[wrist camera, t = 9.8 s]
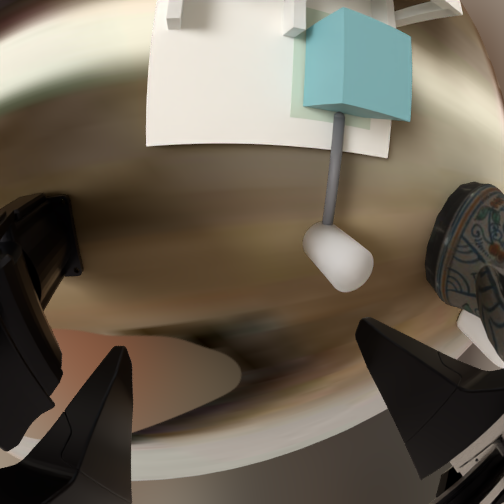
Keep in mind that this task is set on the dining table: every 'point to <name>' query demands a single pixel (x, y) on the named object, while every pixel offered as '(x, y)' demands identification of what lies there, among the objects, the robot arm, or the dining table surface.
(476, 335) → the milk bottle
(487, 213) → the beer stein
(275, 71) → the shelf
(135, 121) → the dining table surface
